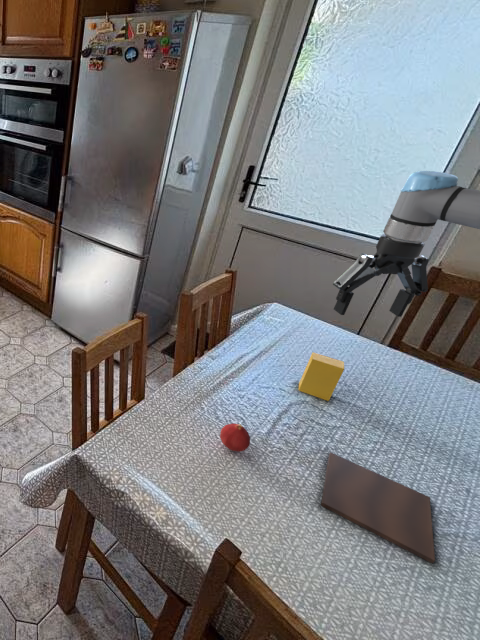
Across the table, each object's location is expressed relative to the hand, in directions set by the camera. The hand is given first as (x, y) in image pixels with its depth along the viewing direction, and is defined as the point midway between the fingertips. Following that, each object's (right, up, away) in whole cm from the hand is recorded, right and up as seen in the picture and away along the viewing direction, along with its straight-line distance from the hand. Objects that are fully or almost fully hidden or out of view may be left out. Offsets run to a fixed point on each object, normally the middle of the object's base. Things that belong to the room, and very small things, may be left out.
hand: (366, 313), depth 106 cm
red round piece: (-41, -31, -10) cm, 53 cm away
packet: (-9, -22, +6) cm, 25 cm away
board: (-20, -36, -22) cm, 47 cm away
